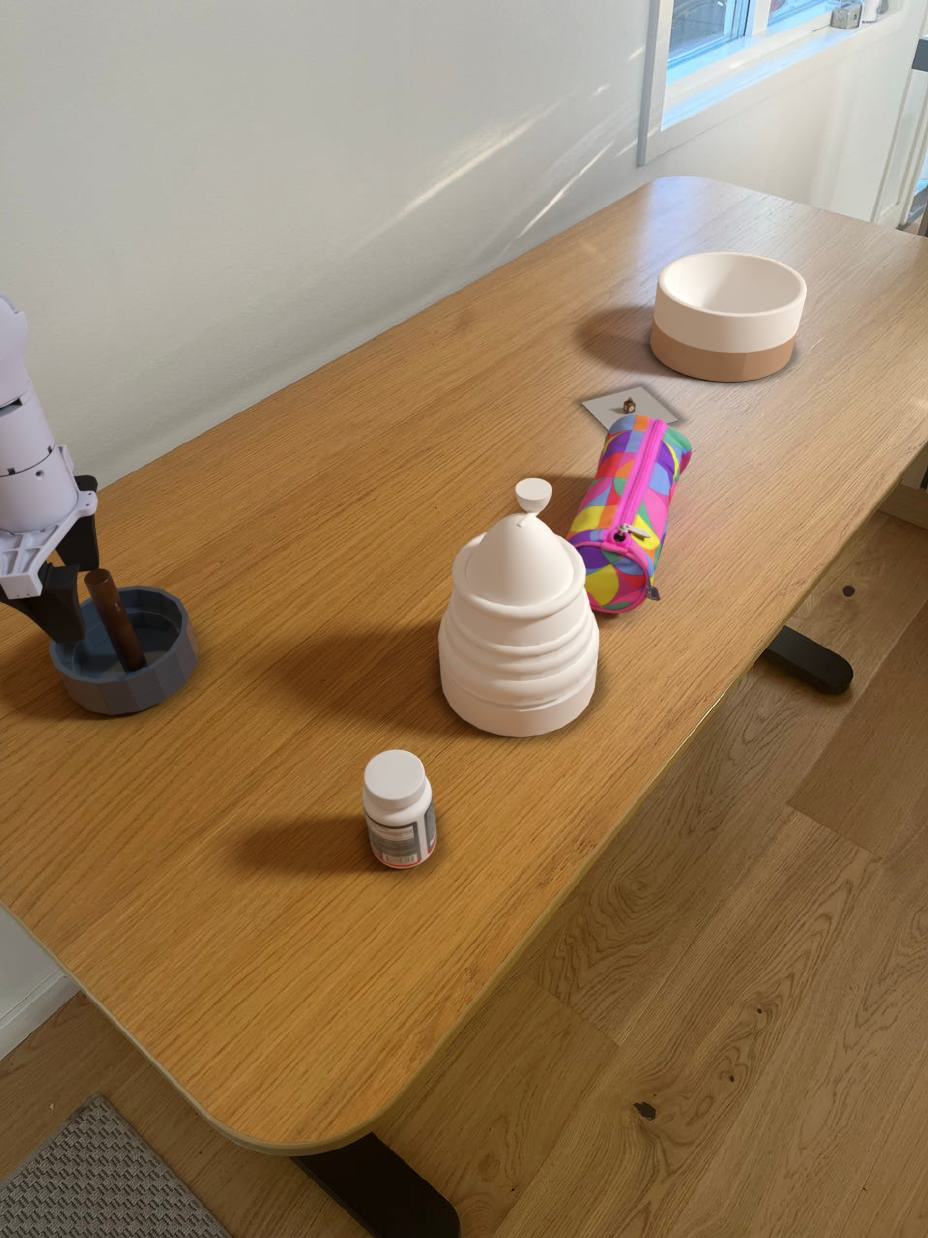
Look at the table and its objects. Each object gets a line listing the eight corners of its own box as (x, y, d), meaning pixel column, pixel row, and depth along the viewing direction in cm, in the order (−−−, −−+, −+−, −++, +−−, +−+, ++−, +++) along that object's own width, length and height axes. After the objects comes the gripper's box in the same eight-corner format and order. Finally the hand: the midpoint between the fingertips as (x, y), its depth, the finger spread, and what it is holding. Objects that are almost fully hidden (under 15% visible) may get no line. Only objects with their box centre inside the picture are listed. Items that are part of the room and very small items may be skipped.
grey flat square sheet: (641, 386, 107) (642, 372, 106) (678, 420, 102) (680, 405, 101) (581, 402, 105) (581, 388, 104) (615, 438, 100) (617, 423, 99)
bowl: (729, 399, 105) (742, 331, 99) (620, 344, 114) (627, 279, 109) (820, 349, 112) (838, 283, 106) (711, 301, 122) (722, 238, 116)
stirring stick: (120, 673, 77) (81, 586, 70) (123, 656, 78) (85, 569, 71) (144, 670, 77) (108, 583, 70) (147, 653, 78) (111, 566, 71)
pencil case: (654, 635, 79) (667, 556, 72) (547, 614, 81) (552, 536, 75) (687, 487, 93) (700, 411, 87) (596, 473, 95) (603, 398, 89)
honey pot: (488, 602, 82) (485, 433, 69) (620, 653, 77) (643, 480, 65) (411, 698, 75) (392, 527, 62) (552, 761, 70) (563, 590, 57)
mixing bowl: (58, 727, 74) (38, 691, 70) (78, 631, 81) (61, 594, 78) (196, 709, 74) (182, 672, 71) (203, 615, 82) (191, 578, 79)
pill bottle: (406, 801, 68) (397, 731, 62) (450, 840, 65) (445, 771, 59) (357, 841, 65) (342, 772, 59) (401, 883, 63) (390, 816, 57)
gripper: (54, 513, 54) (121, 665, 64) (88, 386, 64) (142, 535, 74) (-69, 527, 54) (18, 679, 63) (-15, 397, 64) (53, 545, 73)
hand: (78, 602), depth 69 cm, fingers open, 7 cm apart
